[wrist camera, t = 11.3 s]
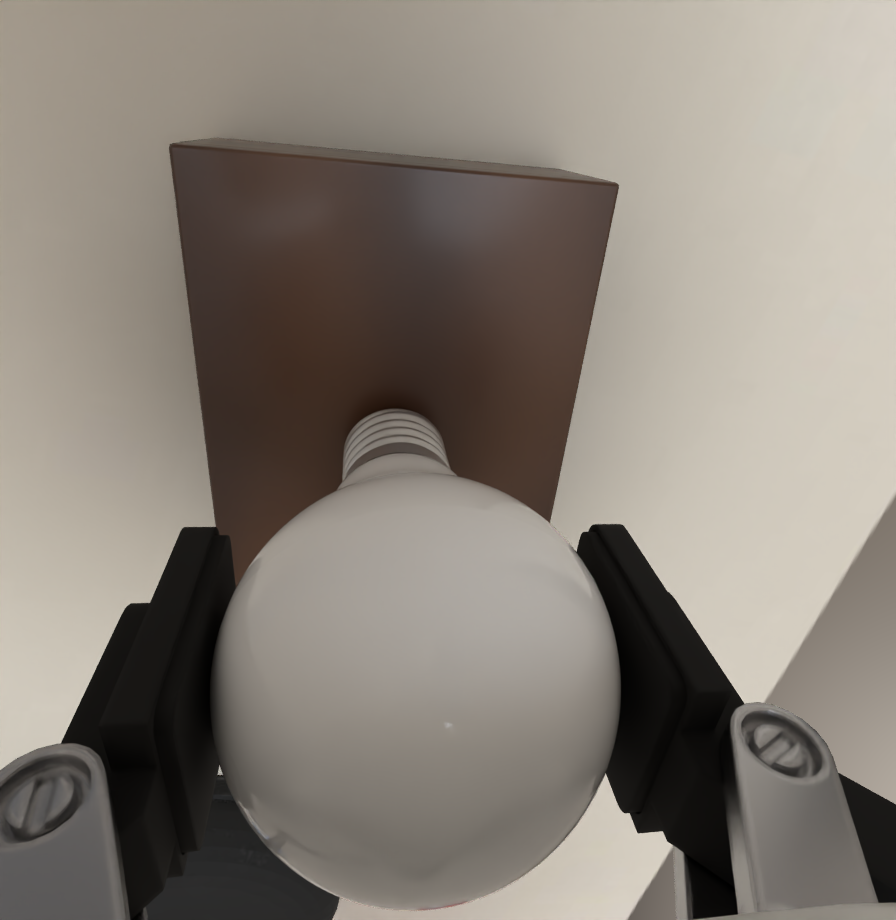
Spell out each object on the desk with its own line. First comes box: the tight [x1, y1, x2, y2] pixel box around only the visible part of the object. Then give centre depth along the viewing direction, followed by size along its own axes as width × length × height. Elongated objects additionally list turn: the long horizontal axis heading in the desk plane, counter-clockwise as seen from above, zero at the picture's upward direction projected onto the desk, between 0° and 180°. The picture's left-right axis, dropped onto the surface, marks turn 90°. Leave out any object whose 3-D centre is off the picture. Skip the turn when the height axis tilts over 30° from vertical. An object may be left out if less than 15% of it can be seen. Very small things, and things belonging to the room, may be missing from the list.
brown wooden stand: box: [169, 138, 619, 587], centre depth 19 cm, size 10×14×5 cm
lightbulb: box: [209, 409, 621, 911], centre depth 12 cm, size 6×6×11 cm
